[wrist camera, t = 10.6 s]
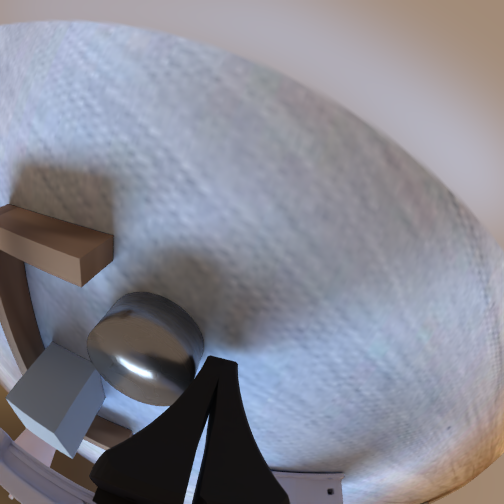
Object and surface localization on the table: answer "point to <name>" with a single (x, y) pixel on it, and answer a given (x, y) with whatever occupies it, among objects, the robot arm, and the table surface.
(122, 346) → the grey puck
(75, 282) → the walnut bay
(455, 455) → the table surface
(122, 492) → the robot arm
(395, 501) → the table surface
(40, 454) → the smoothie
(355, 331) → the table surface
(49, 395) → the grey block
